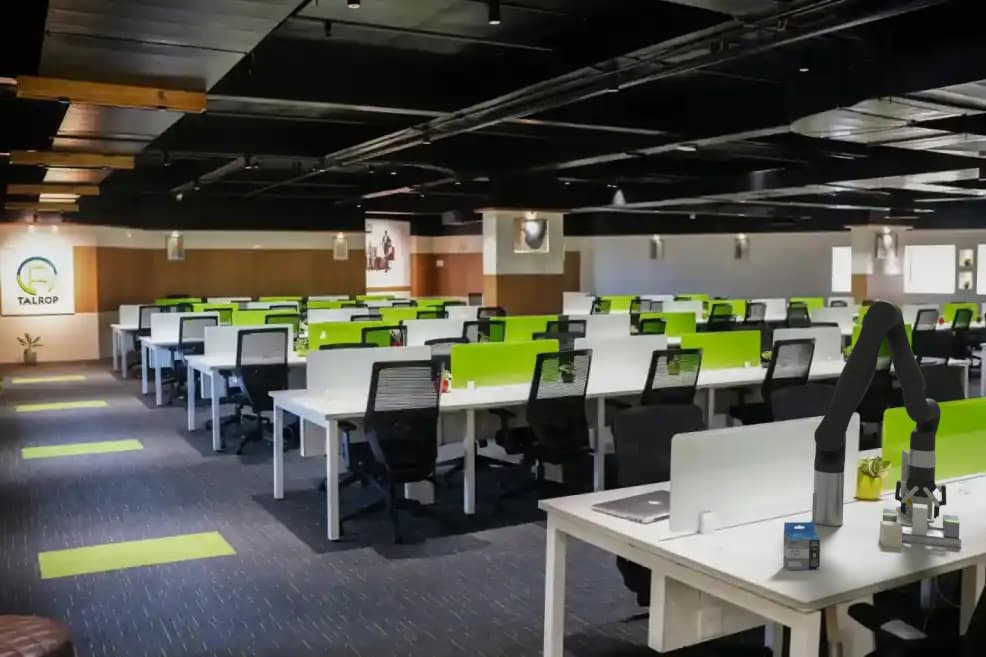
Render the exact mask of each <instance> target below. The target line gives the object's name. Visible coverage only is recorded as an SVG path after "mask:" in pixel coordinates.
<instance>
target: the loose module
mask: <svg viewBox="0 0 986 657" xmlns="http://www.w3.org/2000/svg"><path fill="white" fill-rule="evenodd" d="M927 514H928V508H927V505H924V504H914V503H913V516H912V517H911V519H912V521H911V522H912V523H911V524H912V534H921V535H927V526H928V523H927V520H928V519H927Z"/></svg>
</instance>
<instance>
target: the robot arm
mask: <svg viewBox="0 0 986 657" xmlns="http://www.w3.org/2000/svg"><path fill="white" fill-rule="evenodd" d="M884 341H886V342H887V345H888V348H889V351H890V355H891V361H892V366H893V370H894V372H895V376H896V378H897V381H898V384H899V385H900V388H901V390H902V397H903V401H904V408H905V412H906V413H907V414H906V415H907V416H908V417H909V419H911V421H913V422H915V423H916V424H915V428H914V429H913V430H912V431H911V432H910V435H909V436H910V438H909V440H910V441H909V450H908V451H909V458H908V480H907V482H903V481H901V479H897V480H896V485H895V494H894V499H895V501H898V502H900V507H901V513H903V515H906V512H907V509H906V501H907V500H908V499H909V498H910V497H911V496H912V495H913V496H915V497H923V498H926V497H929V498H930V499H931V500H932V501H933V504H934V505H933V519H934V520H935V519H937V518H939V516H940V508H941V507H942V506H946V505H947V485H946V484H944V483H943V484H936V465H937V464H936V462H937V461H936V460H937V458H936V456H937V455H936V436H937V432H938V430H939V425H940V420H941V415H942V414H941V407H940V404H939V403H938V402H937V401H936V400H935V399H933V398H926V395H925V391H924V390H925V389H926V387H927V383H926V381H925V378H924V375H923V373H922V369H921V368H920V366H919V363H918V361H917V359H916V356H915V354H914V351H913V349H912V346H911V343H910V341H909V337H908V333H907V330H906V325H905V320H904V316H903V312H902V309H901V307H899V305H897V304H896V303H894V302H892V301H887V300H878V301H875V302H874V303H872V304H870V306H869V307H868V309H867V310H866V313H865V316H864V319H863V322H862V326H861V329H860V332H859V334H858V337H857V340H856V341H855V344H854V346H853V348H852V349H851V352H850V354H849V355H848V358H847V360H846V363H845V364H844V366H843V368H842V371H841V373H840V375H839V377H838V380H837V383H836V385H835V389H834V391H833V395H832V398H831V402H830V404H829V405H828V406H829V407H828V409H827V411H826V413H825V415H824V417H823V418H822V419H821V422H819V425H818V426H817V428H816V429H815V431H814V435H813V436H814V441H815V453H814V455H815V456H814V461H813V462H814V464H813V468H814V470H813V493H812V505H811V508H812V511H811V522H815V524H816V525H821V526H828V527H838V526H843V524H844V499H845V498H844V496H845V495H844V494H845V493H844V492H845V466H846V464H845V463H846V448H847V430H848V427H849V424H850V422H851V419H852V417H853V415H854V413H855V411H856V410H857V408H858V407H859V405H860V404H861V402H862V401H863V399H864V397H865V395H866V394H867V391H869V388H870V385H871V383H872V381H873V379H874V377H875V373H876V370H877V368H878V367H877V366H878V361H879V353H880V349H881V346H882V344H883V342H884ZM904 485H906V487H907V488H908V489H909V491H908V492H907V493H906V494H905V495H904V496H903V497H901V488H903V486H904ZM936 489H937V490H938V492H939V493H940V494H941V500H938V499H937V498H936V497H937V496H935V494H934V492H935V490H936Z"/></svg>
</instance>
